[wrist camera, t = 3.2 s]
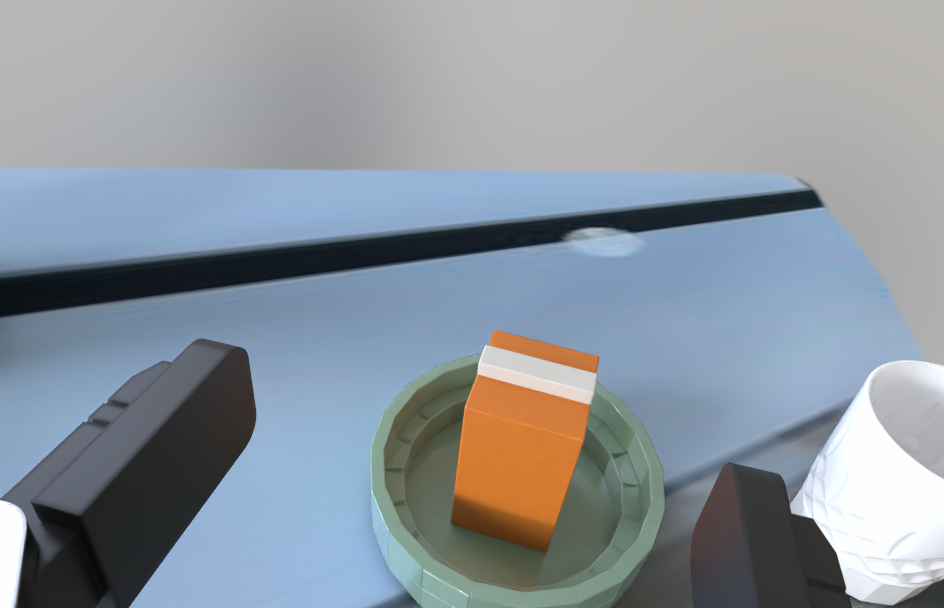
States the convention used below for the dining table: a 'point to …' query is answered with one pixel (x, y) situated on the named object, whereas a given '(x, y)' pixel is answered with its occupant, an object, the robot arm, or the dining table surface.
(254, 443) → the dining table surface
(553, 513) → the carton
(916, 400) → the white cup
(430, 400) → the bowl
